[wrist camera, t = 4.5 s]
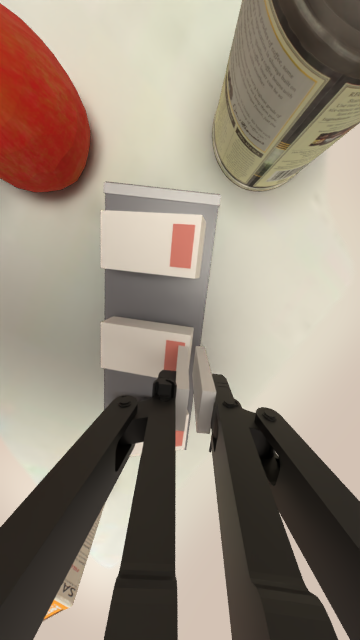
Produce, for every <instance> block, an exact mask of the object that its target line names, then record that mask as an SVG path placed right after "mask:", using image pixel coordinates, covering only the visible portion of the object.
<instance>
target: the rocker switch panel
mask: <svg viewBox="0 0 360 640" xmlns="http://www.w3.org/2000/svg"><path fill="white" fill-rule="evenodd" d="M104 193H105V210H111V211H132V212H153V213H174V214H195V215H203V217H204V219H205V221H206V229H205V237H204V245H203V254H202V262H201V270H200V278H196V279H192V278H184V277H175V276H166V275H157V274H149V273H140V272H131V271H122V270H114V269H105V320H106V319H109V318H111V317H113V316H116V317H123V318H130V319H137V320H144V321H151V322H158V323H165V324H172V325H179V326H186V327H193V328H194V331H193V339H192V347H191V355H190V364H189V397H188V406H187V411H188V413H189V419H188V427H187V435H186V442H185V449H184V450H186V447H187V439H188V432H189V424H190V417H191V409H192V402H193V394H194V391H193V377H192V373H193V365H194V357H195V348H196V346H200V341H201V334H202V326H203V319H204V311H205V304H206V296H207V288H208V281H209V273H210V266H211V258H212V251H213V243H214V236H215V228H216V221H217V213H218V207H219V206H220V200H221V195H220V194H212V193H203V192H194V191H185V190H176V189H168V188H159V187H150V186H141V185H132V184H123V183H114V182H104ZM157 379H158V378H156V377H150V376H144V375H139V374H133V373H128V372H122V371H117V370H111V369H106V368H104V410H105V409H106V408H107V407H108V405H109V404H110V403H111V402H112V401H113V400H114V399H115V398H116V397H119V396H122V395H131V396H133V397H135V398H136V399H137V401H138V402H141V401H146V400H148V399H150V398H152V389H153V382H154V381H155V380H157Z"/></svg>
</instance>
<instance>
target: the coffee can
mask: <svg viewBox="0 0 360 640" xmlns="http://www.w3.org/2000/svg"><path fill="white" fill-rule="evenodd" d="M359 123H360V0H242V4H241V8H240V12H239V17H238V21H237V25H236V30H235V34H234V39H233V43H232V47H231V51H230V55H229V60H228V65H227V69H226V74H225V78H224V82H223V87H222V91H221V95H220V100H219V104H218V108H217V110H216V114H215V118H214V122H213V130H212V139H213V148H214V152H215V156H216V159H217V161H218V163H219V165H220V167H221V169H222V170H223V172H224V173H225V175H226V176H227V177H228V178H229V179H230V180H231V181H233V182H234V183H235V184H237V185H238V186H240V187H242V188H245V189H248V190H253V191H265V190H270V189H273V188H276V187H279V186H281V185H283V184H284V183H286V182H287V181H289V180H290V179H291V178H293V177H294V176H295V175H296V174H297V173H298V172H299V171H300V170H301V169H303V168H304V167H305V166H306V165H308V164H309V163H310V162H311V161H313V160H314V159H315V158H316V157H318V156H319V155H320V154H321V153H323V152H324V151H325V150H326V149H328V148H329V147H330V146H331V145H333V144H334V143H335V142H336V141H338V140H339V139H340V138H341V137H343V136H344V135H345V134H346V133H347V132H349V131H350V130H351V129H352V128H354V127H355V126H356V125H358V124H359Z"/></svg>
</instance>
